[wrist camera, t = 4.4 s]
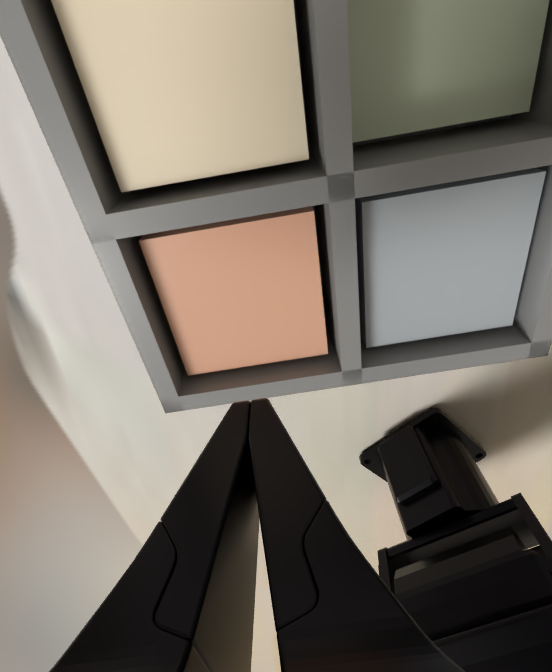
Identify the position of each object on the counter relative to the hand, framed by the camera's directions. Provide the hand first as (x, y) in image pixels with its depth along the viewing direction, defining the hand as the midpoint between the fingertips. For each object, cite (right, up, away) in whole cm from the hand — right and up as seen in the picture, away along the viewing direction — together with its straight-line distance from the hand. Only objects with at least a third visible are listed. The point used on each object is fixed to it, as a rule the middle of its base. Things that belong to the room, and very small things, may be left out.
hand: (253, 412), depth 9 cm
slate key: (+7, +5, +6) cm, 10 cm away
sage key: (+5, +12, +3) cm, 14 cm away
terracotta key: (-1, +4, +7) cm, 8 cm away
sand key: (-2, +10, +2) cm, 11 cm away
